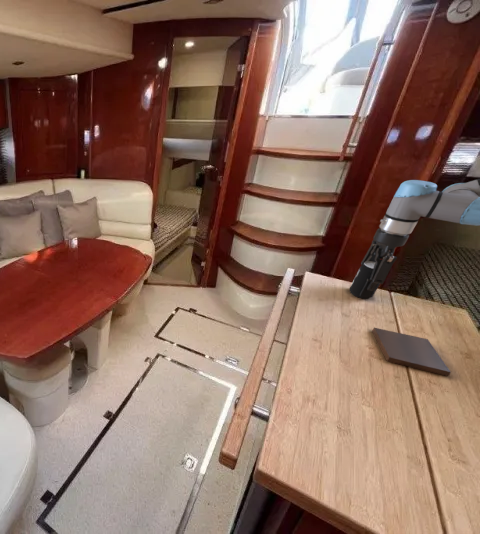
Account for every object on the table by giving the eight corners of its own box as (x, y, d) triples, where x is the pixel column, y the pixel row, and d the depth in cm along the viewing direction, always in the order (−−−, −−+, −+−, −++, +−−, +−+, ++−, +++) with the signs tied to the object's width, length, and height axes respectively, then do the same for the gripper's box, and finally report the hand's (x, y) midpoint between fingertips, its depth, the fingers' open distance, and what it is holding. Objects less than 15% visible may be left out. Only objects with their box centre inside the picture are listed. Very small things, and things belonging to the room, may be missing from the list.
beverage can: (353, 298, 106) (369, 269, 100) (344, 288, 111) (358, 259, 105) (376, 300, 105) (393, 271, 99) (365, 290, 110) (381, 261, 104)
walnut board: (424, 343, 87) (427, 339, 86) (447, 376, 77) (451, 372, 76) (371, 331, 92) (374, 327, 91) (386, 361, 82) (389, 357, 81)
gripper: (369, 219, 105) (342, 275, 116) (389, 241, 90) (355, 303, 101) (397, 222, 102) (366, 279, 113) (423, 245, 87) (384, 309, 98)
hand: (361, 291), depth 107 cm, fingers closed on beverage can, 6 cm apart
